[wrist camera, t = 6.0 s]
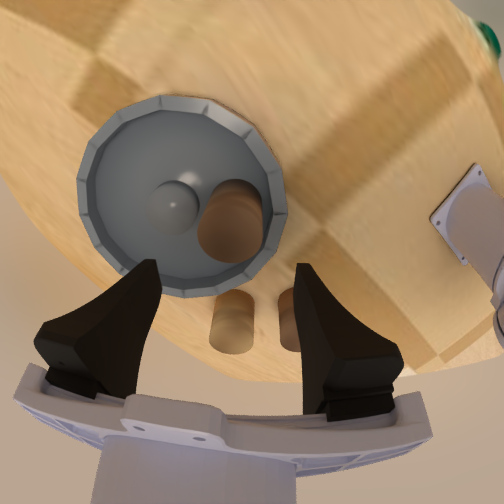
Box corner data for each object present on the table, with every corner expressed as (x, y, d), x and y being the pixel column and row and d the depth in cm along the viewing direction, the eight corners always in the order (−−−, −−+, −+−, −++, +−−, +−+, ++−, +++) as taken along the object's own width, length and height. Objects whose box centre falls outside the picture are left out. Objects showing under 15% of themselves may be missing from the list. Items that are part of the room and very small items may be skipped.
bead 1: (266, 183, 20) (268, 212, 16) (257, 229, 22) (256, 267, 18) (212, 175, 19) (199, 201, 15) (207, 222, 22) (195, 258, 17)
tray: (327, 175, 20) (334, 185, 18) (215, 306, 28) (212, 322, 26) (140, 60, 15) (127, 58, 13) (74, 226, 23) (62, 238, 21)
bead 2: (262, 300, 27) (262, 339, 23) (240, 321, 29) (238, 358, 25) (228, 283, 26) (223, 321, 22) (208, 306, 28) (201, 343, 24)
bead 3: (324, 297, 27) (333, 334, 23) (299, 319, 29) (303, 356, 25) (295, 280, 26) (300, 318, 22) (270, 304, 28) (271, 343, 24)
